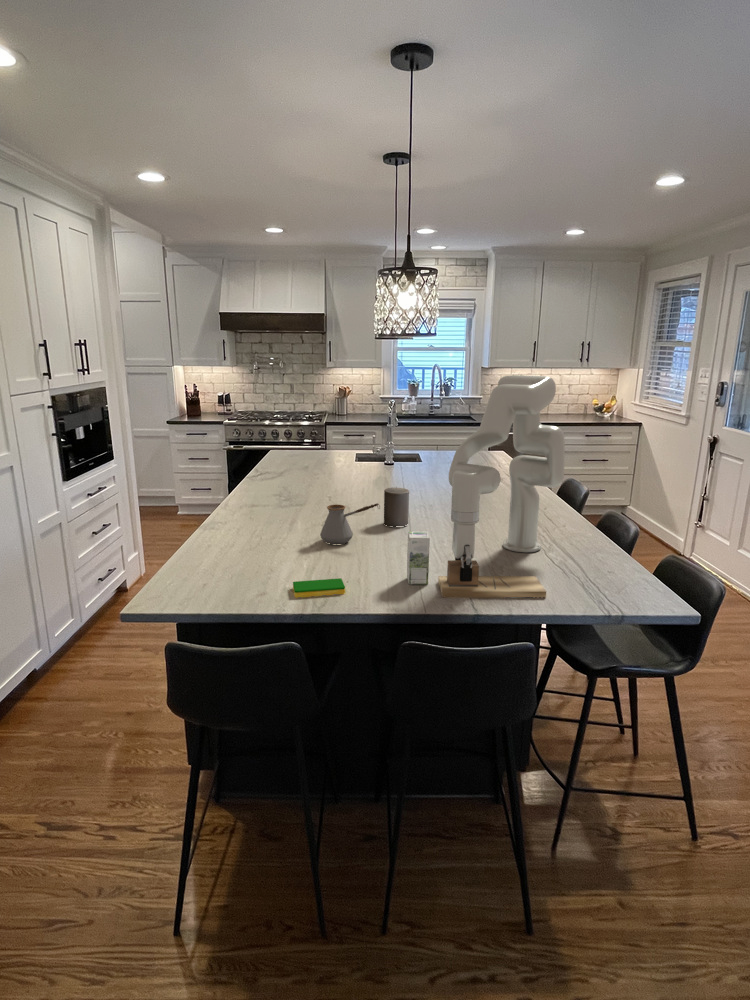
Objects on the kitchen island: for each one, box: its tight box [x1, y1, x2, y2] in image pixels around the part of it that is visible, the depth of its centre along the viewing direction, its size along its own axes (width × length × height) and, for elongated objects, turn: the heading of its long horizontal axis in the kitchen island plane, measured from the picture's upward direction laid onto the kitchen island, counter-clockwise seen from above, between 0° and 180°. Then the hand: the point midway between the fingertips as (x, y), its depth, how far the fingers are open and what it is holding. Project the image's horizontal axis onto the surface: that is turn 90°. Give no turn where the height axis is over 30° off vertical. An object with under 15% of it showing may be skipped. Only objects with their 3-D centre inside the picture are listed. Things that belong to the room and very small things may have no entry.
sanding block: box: [446, 559, 480, 587], centre depth 160 cm, size 4×8×6 cm, turn 90°
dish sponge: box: [292, 577, 346, 599], centre depth 160 cm, size 7×14×2 cm, turn 101°
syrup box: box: [406, 531, 431, 586], centre depth 165 cm, size 6×6×14 cm
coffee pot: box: [319, 503, 381, 545], centre depth 199 cm, size 21×12×15 cm, turn 76°
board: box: [437, 575, 547, 599], centre depth 161 cm, size 11×28×2 cm, turn 90°
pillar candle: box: [383, 486, 410, 527], centre depth 222 cm, size 10×10×15 cm
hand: (463, 574), depth 161 cm, fingers open, 9 cm apart
